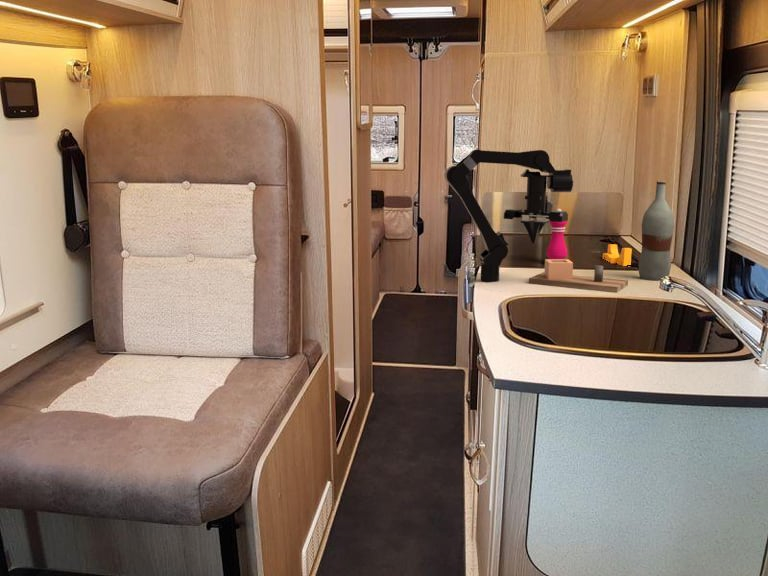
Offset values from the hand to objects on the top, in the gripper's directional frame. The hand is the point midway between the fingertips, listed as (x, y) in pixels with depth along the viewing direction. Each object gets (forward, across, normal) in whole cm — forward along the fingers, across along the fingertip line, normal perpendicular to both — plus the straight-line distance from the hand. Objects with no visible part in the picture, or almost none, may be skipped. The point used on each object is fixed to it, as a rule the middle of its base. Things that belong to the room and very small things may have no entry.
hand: (533, 243), depth 192 cm
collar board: (+11, -14, -1) cm, 18 cm away
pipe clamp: (+12, -13, -44) cm, 48 cm away
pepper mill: (+12, +4, -30) cm, 33 cm away
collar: (+10, -8, -1) cm, 13 cm away
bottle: (+11, -30, -23) cm, 40 cm away
